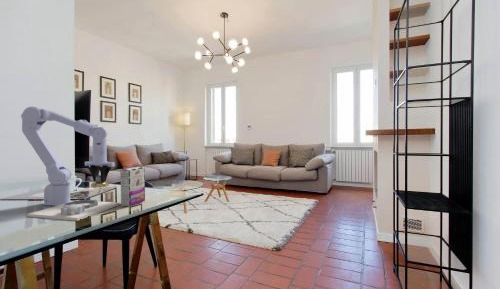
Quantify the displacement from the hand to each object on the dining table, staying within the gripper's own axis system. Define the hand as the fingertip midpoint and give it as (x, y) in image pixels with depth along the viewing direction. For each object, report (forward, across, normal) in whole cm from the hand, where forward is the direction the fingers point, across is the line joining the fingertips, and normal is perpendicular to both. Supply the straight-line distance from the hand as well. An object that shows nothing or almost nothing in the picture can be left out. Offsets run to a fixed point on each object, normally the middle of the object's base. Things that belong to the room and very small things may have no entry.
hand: (99, 181), depth 120 cm
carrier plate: (+9, -3, +15) cm, 18 cm away
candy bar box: (+10, -18, 0) cm, 20 cm away
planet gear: (+2, 0, 0) cm, 2 cm away
